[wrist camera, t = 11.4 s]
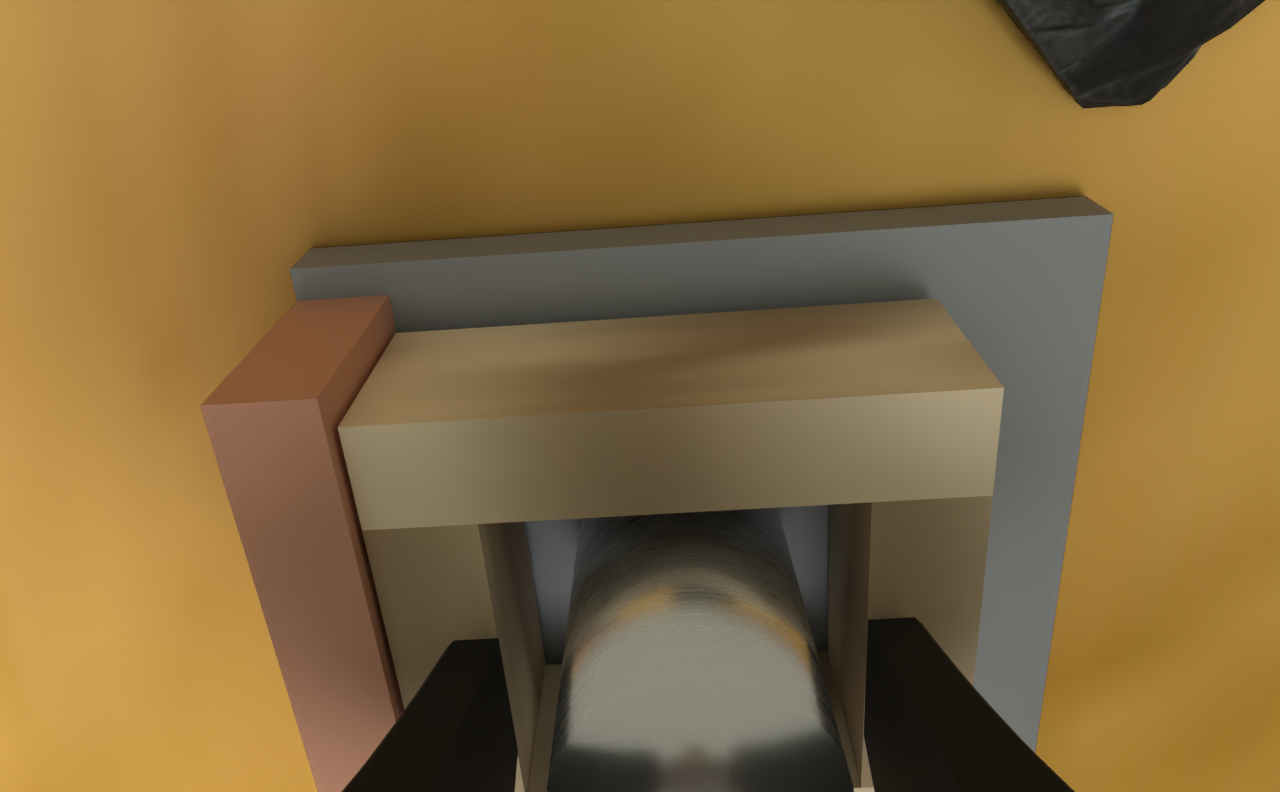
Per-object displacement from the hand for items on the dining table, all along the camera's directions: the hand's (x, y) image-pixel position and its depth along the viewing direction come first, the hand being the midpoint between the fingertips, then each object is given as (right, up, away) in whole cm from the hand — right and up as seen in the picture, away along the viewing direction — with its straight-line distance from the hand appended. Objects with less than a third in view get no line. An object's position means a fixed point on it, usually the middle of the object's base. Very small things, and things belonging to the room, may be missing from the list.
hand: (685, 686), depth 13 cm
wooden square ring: (0, +2, +3) cm, 3 cm away
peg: (0, +1, +3) cm, 4 cm away
